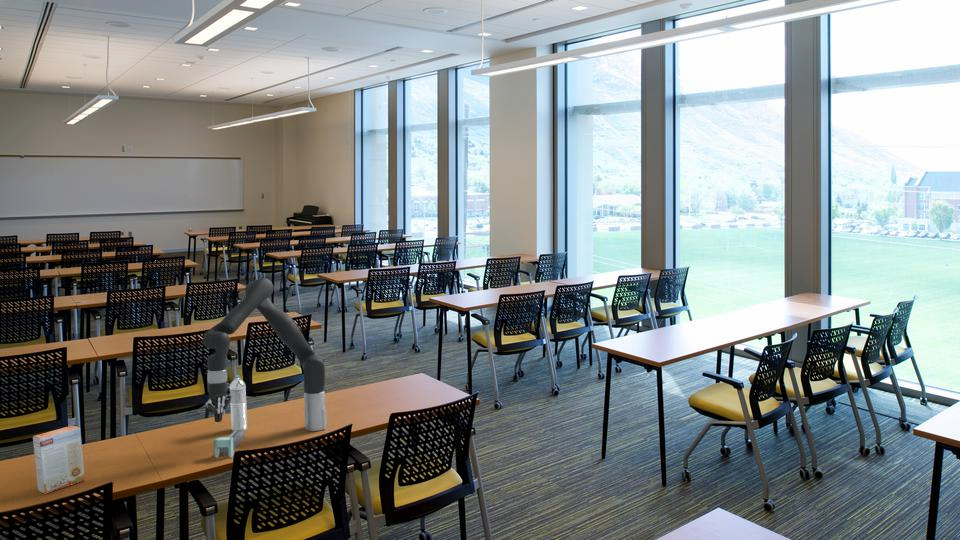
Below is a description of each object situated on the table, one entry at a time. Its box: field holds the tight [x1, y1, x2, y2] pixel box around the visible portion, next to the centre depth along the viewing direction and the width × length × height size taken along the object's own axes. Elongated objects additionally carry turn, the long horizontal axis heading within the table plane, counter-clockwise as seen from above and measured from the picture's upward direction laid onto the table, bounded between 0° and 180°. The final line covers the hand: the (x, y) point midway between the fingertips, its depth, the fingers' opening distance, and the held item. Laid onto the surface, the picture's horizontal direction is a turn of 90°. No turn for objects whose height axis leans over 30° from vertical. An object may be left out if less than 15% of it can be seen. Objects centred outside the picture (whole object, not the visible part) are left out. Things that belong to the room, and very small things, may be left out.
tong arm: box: [228, 429, 240, 437], centre depth 293 cm, size 16×2×4 cm, turn 2°
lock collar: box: [213, 436, 234, 459], centre depth 279 cm, size 3×7×7 cm, turn 93°
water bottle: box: [229, 374, 248, 432], centre depth 310 cm, size 7×7×25 cm
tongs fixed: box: [220, 429, 245, 456], centre depth 291 cm, size 20×4×4 cm, turn 3°
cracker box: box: [32, 425, 86, 494], centre depth 251 cm, size 14×6×21 cm, turn 145°
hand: (218, 421), depth 280 cm, fingers closed
